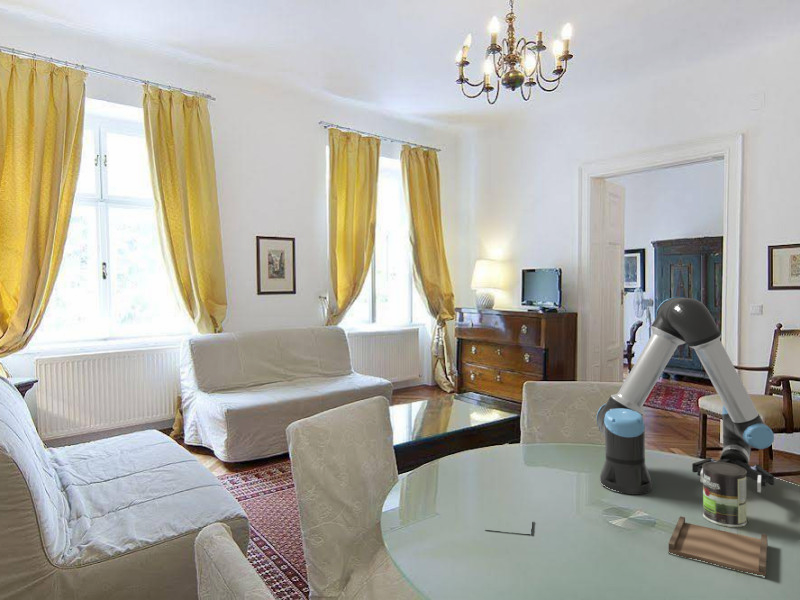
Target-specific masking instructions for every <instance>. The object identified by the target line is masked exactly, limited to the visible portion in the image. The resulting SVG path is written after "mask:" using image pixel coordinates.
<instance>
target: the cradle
mask: <svg viewBox="0 0 800 600" xmlns="http://www.w3.org/2000/svg"><path fill="white" fill-rule="evenodd" d="M669 552H670V553H673V554H676V555H679V556H683V557H686V558H685V559H687V558H692V559H697V560H701V561H705V562H708V563H712V564H716V565H719V566H723V567H727V568H731V569H735V570H739V571H743V572H748V573H753V574H757V575H763V576H765V575H767V562H766V561H768V560H767V558H768V534H764V533H761V534H760V538H757V537H753V536H748V535H744V534H739V533H734V532H730V531H726V530H720V529H717V528H712V527H707V526H704V525H703V526H702V525H698V524H693V523H689V522H686V517H685V516H681V515H680V516H679V517H678V521H677V522H676V525H675V527H674V530H673V532H672V535H670V539H669V542H668V553H669ZM679 556H678V557H679ZM683 557H682V558H683Z"/></svg>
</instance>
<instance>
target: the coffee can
mask: <svg viewBox="0 0 800 600" xmlns="http://www.w3.org/2000/svg"><path fill="white" fill-rule="evenodd" d="M702 468H703V483H702V489H703V490H702V509H703V510H702V511H703V512H702V516H703V518H704V519H705V520H706V521H708V522H709V523H712V524H715V525H716V526H717V525H718V526H722V527H726V526H727V527H728V528H743V527H745V526H746V525H747V524H748V521H747V477H746V474H747V471H746V470H745V469H744V468H742V467H740V466H738V465H735V464H731V463H726V462H706V463H704V464H702ZM742 526H743V527H742ZM727 527H726V528H727Z"/></svg>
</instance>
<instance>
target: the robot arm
mask: <svg viewBox="0 0 800 600" xmlns="http://www.w3.org/2000/svg"><path fill="white" fill-rule="evenodd" d="M658 305H659V306H658V307H657V309H656V313H655V319H654V321H653V322H652V324H651V326H650V328H651V332H652V333H651V335H650V337H649V339H648V340H647V342H646V344H645V346H644V347H643V349H642V351H641V353H640V354H639V356H638V357H637V359H636V360H635V363H634V365H633V367H632V368H631V370H630V372H629V373H628V375H627V377H626V378H625V380H624V381H623V383H622V385H621V387H620V389H619V390H618V392H616V393H614V394H610V397H609V399H608V400H607V401H606V403H604V404H602V406H600V407H599V409H598V411H597V413H596V424H597V427H598V429H599V431H600V432H601V434H602V435H603V437H604V445H605V446H604V448H605V449H604V450H605V452H604V454H605V461H604V464H603V467H602V468H601V469H602V470H601V473H600V476H599V477H600V479H599V480H600V481H601V483H602V484H603V485H605V486H606V487H608V488H610V489H613V490H616V491H619V492H622V493H621V494H624V493H628V494H627V495H642V494H647V493H650V492H651V491H652V488H653V486H652V483H653V482H652V479H651V476H650V473H649V469H648V468H647V465H646V446H645V445H646V441H645V438H646V437H645V430H646V424H645V419H644V417H643V415H644V411H643V406H644V404H645V402H646V400H647V399H648V398H649V395H650V394H651V392H652V390H653V389H654V387H655V385H656V384H657V382H658V380H659V379H660V377H661V376H662V373H663V372H664V370H665V368H666V366H667V365H668V363H669V362H670V360H671V358H672V357H673V355H674V353H675V351H676V349H677V348H678V347H679V346H681V345H683V344H687V345H688V347H689V348H691V349H694V351H695V353H696V355H697V357H698V359H699V361H700V363H701V365H702V366H703V369H704V371H705V372H706V375H708V378H709V380H710V381H711V384H712V386H713V387H714V389H715V391H716V393H717V395H718V397H719V399H720V401H721V402H722V405H723V406H722V412H721V416H722V451H721V455H720V458H719V459H718V460H714V459H713V458H712V457H710V456H709V457H706V459H703V460H700V461H696V462H694V463H692V464H691V466H692V469H691V470H692V473H697V476H699V477H700V479H699V480H700V483H702V484H703V468H702V464H704V463H706V462H726V463H731V464H735V465H738V466H740V467H742V468H744V469H745V470H746V471H747V474H746V478H748V479H751V480H753V481H755V482H756V483H757V485H756V486H757V487H756V488H757V493H760V494H761V493H762V487H763V488H764V487H765V488H766V487H767V484H768V485H770V486H775V476H774V475H773V474H772V473H770V472H769V471H767V470H766V469H764V467H762V466H761V464H755V465H754V466H751V465H750V457H751V455H752V447H753V448H755V449H758V450H764V449H767V448H769V447H770V446H771V445H773V443H774V441H775V433H774V432H773V430H772V429H771V428H770V427H769V426H768V425H767V424H765V423H764V421H763V419H762V416H761V415H760V414H759V412H758V410H757V408H756V406H755V404H754V402H753V400H752V398H751V396H750V394H749V393H748V391H747V388H746V387H745V385H744V383H743V381H742V380H741V377H740V375H739V373H738V371H737V369H736V368H735V366H734V364H733V362H732V360H731V358H730V356H729V355H728V352H727V351H726V349H725V346H724V345H723V343H722V341H721V337H722V333H721V331H720V330H719V328H718V325H717V323H716V322H715V319H714V317H713V316H712V313H711V312H710V311H709V309H708V308H707V307H706V305H705V304H704V303H702V302H701V301H700V300H697V299H695V298H690V297H687V298H686V297H682V296H673V297H670V298H668V299H665V300H663V301H662V302H661V303H660V304H658ZM600 481H599V482H600ZM601 483H600V484H601Z"/></svg>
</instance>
